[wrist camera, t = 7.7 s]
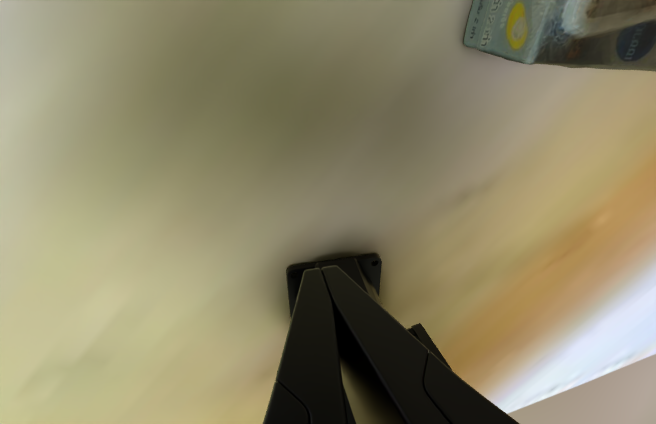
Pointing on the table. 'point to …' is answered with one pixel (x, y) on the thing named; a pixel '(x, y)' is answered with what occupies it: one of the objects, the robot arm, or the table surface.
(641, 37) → the printed cardboard box
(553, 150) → the table surface
